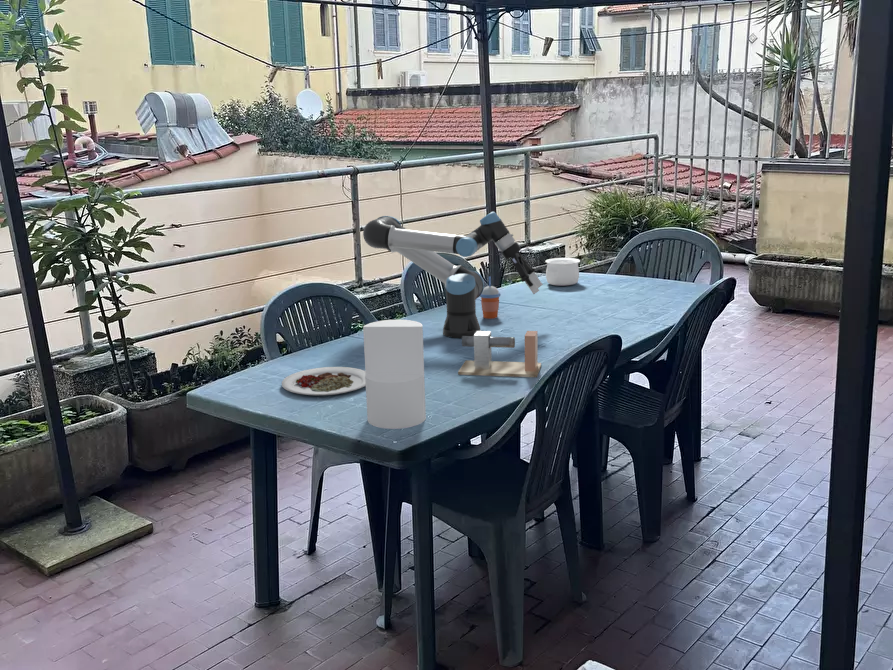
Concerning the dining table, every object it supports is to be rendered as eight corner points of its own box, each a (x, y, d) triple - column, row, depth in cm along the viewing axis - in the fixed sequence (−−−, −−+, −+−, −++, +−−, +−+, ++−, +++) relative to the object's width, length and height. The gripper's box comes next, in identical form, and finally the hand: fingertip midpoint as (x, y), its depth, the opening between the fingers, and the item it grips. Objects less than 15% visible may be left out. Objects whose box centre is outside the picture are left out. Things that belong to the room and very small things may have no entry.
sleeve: (474, 368, 300) (473, 335, 297) (477, 363, 305) (476, 330, 302) (488, 369, 299) (488, 335, 296) (491, 364, 304) (491, 331, 301)
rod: (461, 347, 300) (461, 337, 299) (463, 344, 303) (463, 334, 303) (513, 349, 296) (513, 338, 295) (515, 346, 300) (514, 336, 299)
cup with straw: (490, 320, 371) (489, 279, 366) (475, 317, 378) (474, 276, 373) (505, 317, 377) (504, 276, 372) (490, 313, 383) (490, 273, 379)
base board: (458, 374, 297) (458, 371, 297) (465, 362, 311) (465, 360, 310) (536, 377, 292) (536, 374, 291) (541, 365, 305) (541, 362, 305)
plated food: (380, 393, 281) (380, 383, 280) (287, 404, 273) (286, 393, 272) (362, 368, 309) (362, 359, 308) (277, 377, 301) (276, 368, 300)
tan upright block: (524, 371, 296) (524, 335, 293) (527, 365, 302) (527, 330, 299) (535, 371, 295) (535, 336, 292) (537, 365, 301) (537, 331, 298)
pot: (565, 290, 428) (565, 265, 425) (536, 286, 439) (536, 262, 436) (588, 282, 445) (588, 259, 442) (559, 279, 455) (559, 256, 452)
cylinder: (373, 408, 266) (368, 319, 259) (429, 408, 264) (426, 319, 257) (362, 428, 249) (357, 334, 242) (422, 429, 248) (418, 334, 241)
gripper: (511, 245, 338) (542, 289, 340) (519, 237, 362) (548, 279, 363) (496, 256, 340) (527, 300, 342) (505, 247, 364) (534, 289, 366)
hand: (538, 289), depth 353 cm, fingers open, 13 cm apart
